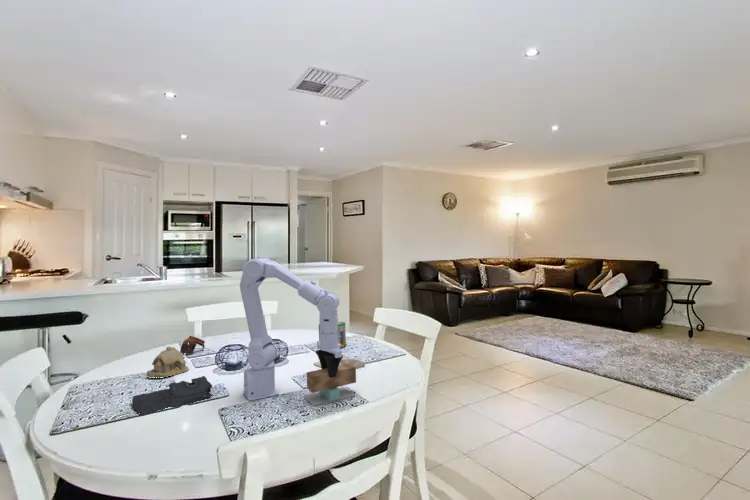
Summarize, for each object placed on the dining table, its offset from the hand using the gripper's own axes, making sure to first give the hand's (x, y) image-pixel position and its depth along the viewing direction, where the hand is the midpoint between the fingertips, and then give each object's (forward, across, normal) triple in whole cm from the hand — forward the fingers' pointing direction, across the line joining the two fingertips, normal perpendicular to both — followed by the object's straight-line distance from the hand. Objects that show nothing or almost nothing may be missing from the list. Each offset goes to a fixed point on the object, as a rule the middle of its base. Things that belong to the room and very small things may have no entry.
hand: (329, 374), depth 122 cm
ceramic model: (+8, +53, +42) cm, 68 cm away
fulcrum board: (+7, 0, 0) cm, 7 cm away
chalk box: (+8, +51, -25) cm, 57 cm away
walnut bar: (+4, 0, -1) cm, 4 cm away
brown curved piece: (+7, +78, +31) cm, 84 cm away
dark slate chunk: (+8, +25, +42) cm, 50 cm away
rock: (+8, +25, -14) cm, 30 cm away
